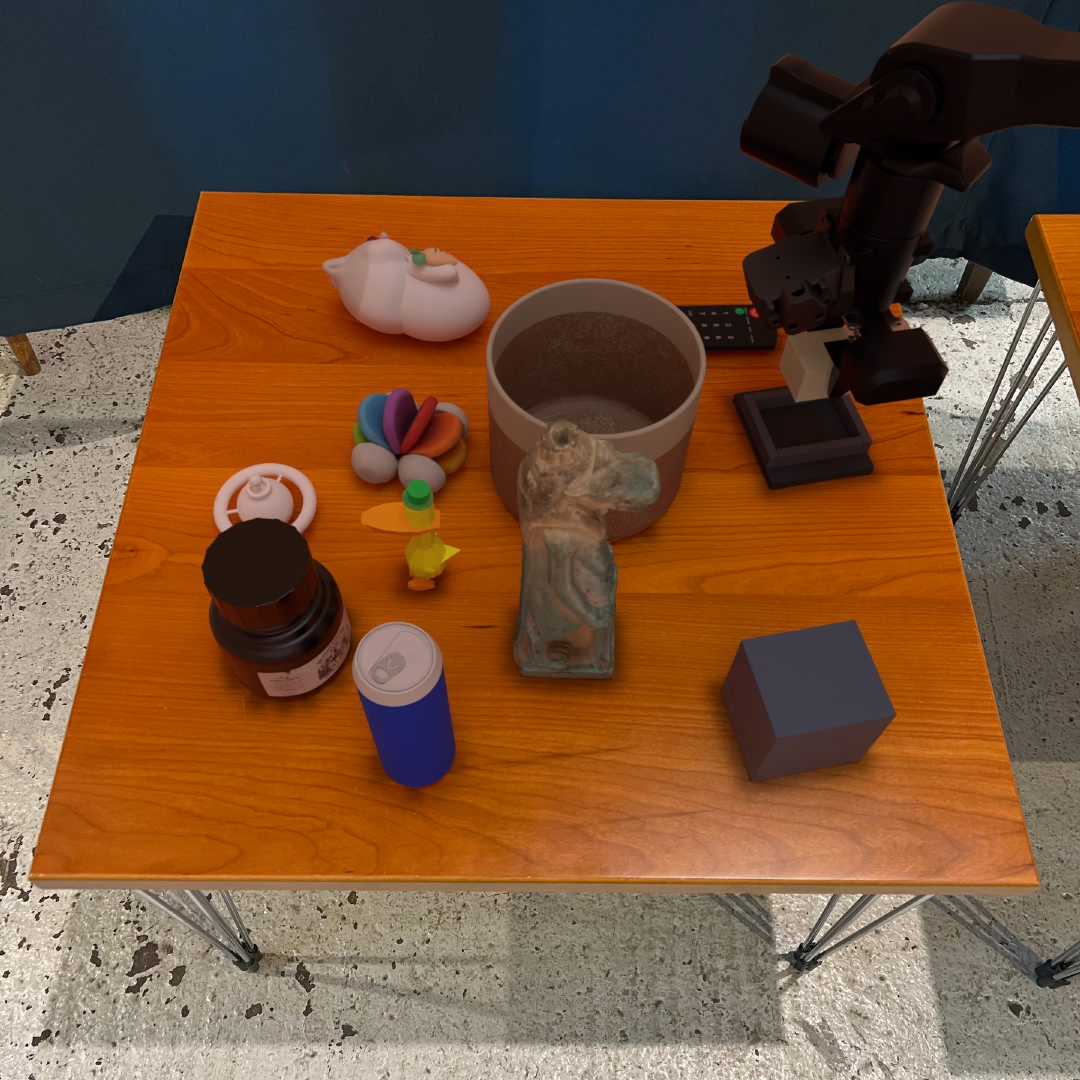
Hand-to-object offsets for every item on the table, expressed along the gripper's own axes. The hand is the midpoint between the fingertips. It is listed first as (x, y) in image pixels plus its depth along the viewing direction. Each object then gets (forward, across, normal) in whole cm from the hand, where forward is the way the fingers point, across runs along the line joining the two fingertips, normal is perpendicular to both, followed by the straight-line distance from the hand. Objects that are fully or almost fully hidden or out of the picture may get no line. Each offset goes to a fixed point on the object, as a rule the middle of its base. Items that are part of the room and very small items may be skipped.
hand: (823, 376), depth 77 cm
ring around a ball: (+8, 0, -45) cm, 46 cm away
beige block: (0, 0, 0) cm, 0 cm away
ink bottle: (+8, +12, -44) cm, 46 cm away
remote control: (+8, -14, -10) cm, 19 cm away
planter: (+8, 0, -19) cm, 21 cm away
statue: (+8, +16, -24) cm, 30 cm away
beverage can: (+8, +22, -36) cm, 43 cm away
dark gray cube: (+8, +25, -10) cm, 28 cm away
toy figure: (+8, +8, -34) cm, 36 cm away
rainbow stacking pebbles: (+8, -4, -33) cm, 34 cm away
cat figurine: (+8, -20, -31) cm, 38 cm away
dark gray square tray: (+8, 0, 0) cm, 8 cm away
